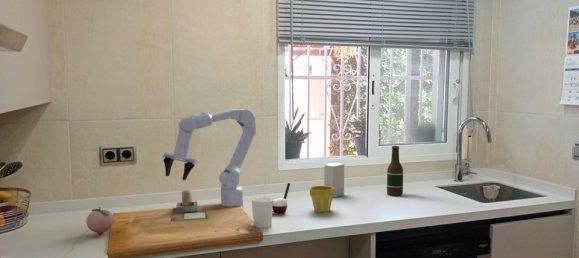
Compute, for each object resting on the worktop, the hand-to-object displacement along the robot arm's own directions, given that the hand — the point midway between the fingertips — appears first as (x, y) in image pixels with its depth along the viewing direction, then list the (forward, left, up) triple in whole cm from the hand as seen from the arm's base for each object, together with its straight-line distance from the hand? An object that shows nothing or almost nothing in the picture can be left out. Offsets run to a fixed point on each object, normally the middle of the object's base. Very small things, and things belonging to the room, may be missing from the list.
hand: (175, 178), depth 186 cm
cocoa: (-42, +9, -15) cm, 46 cm away
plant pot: (-60, +9, -15) cm, 63 cm away
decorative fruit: (+26, +23, -15) cm, 38 cm away
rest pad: (-7, +11, -14) cm, 19 cm away
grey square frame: (-4, +1, -14) cm, 14 cm away
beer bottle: (-103, -11, -15) cm, 105 cm away
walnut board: (-5, +6, -15) cm, 17 cm away
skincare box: (-74, -17, -15) cm, 78 cm away
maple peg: (-4, +1, -14) cm, 14 cm away
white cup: (-32, +25, -15) cm, 43 cm away
